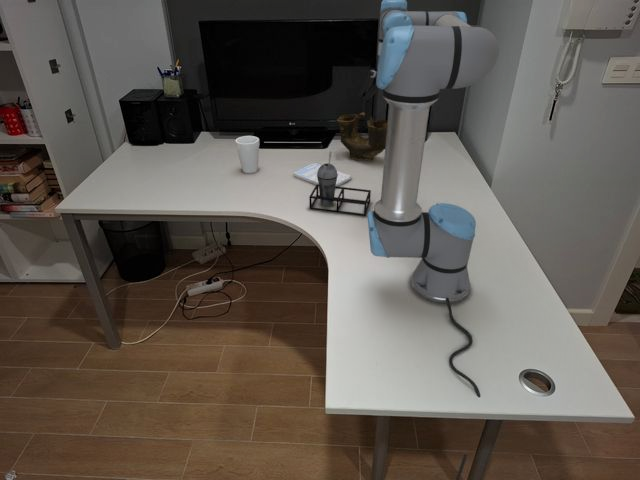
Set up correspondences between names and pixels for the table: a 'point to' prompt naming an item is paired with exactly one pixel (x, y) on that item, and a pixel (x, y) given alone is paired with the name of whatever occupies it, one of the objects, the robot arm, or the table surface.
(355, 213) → the rack
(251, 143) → the foam cup
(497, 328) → the table surface
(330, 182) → the beverage cup
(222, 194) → the table surface
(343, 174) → the calculator
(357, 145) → the pottery vessel
